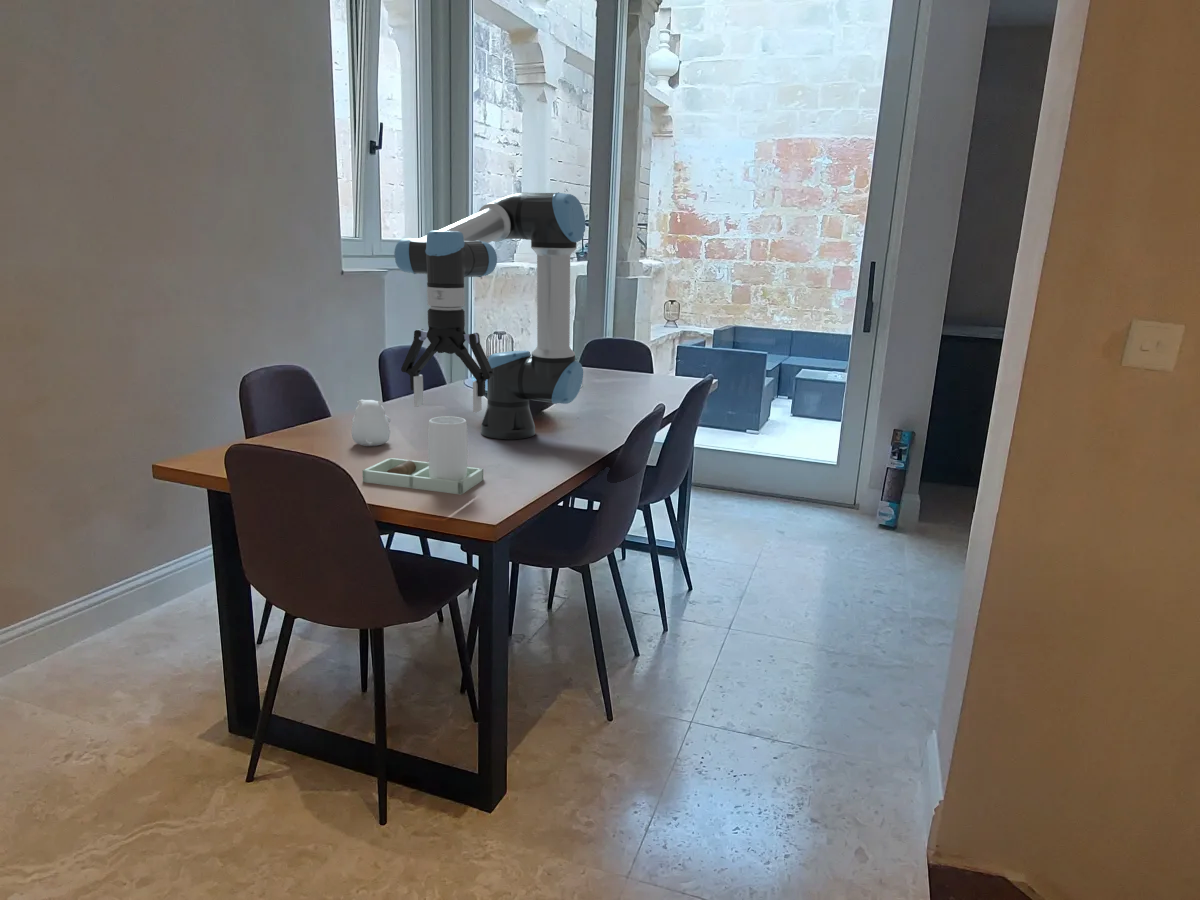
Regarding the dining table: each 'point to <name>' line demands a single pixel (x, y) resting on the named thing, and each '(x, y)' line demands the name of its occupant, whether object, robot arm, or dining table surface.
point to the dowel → (404, 468)
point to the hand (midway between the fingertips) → (447, 408)
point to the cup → (447, 448)
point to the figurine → (370, 424)
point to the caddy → (419, 477)
